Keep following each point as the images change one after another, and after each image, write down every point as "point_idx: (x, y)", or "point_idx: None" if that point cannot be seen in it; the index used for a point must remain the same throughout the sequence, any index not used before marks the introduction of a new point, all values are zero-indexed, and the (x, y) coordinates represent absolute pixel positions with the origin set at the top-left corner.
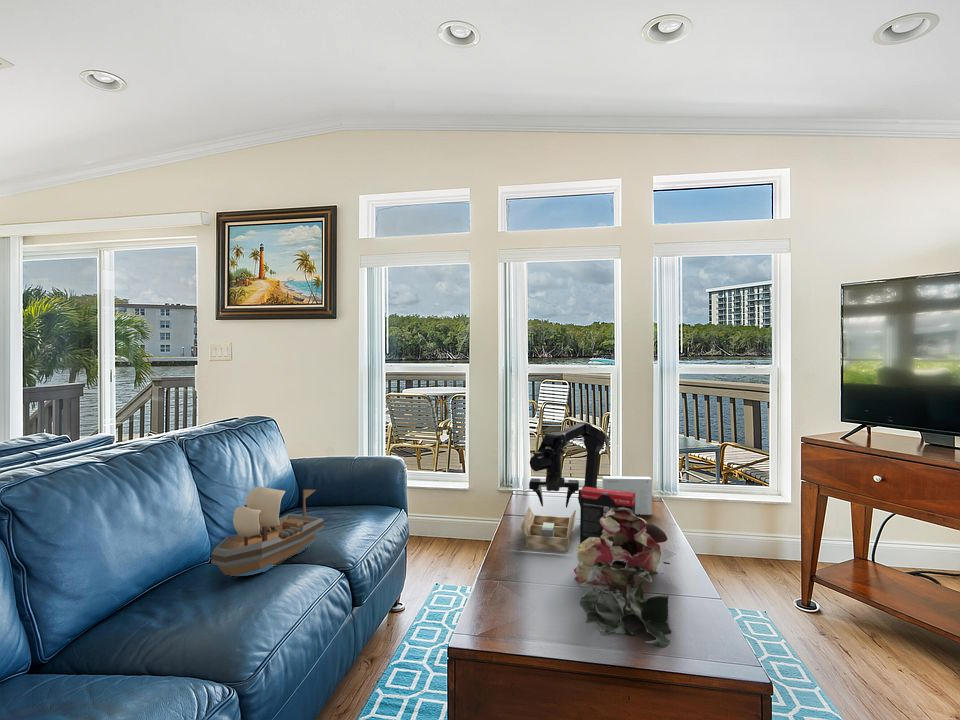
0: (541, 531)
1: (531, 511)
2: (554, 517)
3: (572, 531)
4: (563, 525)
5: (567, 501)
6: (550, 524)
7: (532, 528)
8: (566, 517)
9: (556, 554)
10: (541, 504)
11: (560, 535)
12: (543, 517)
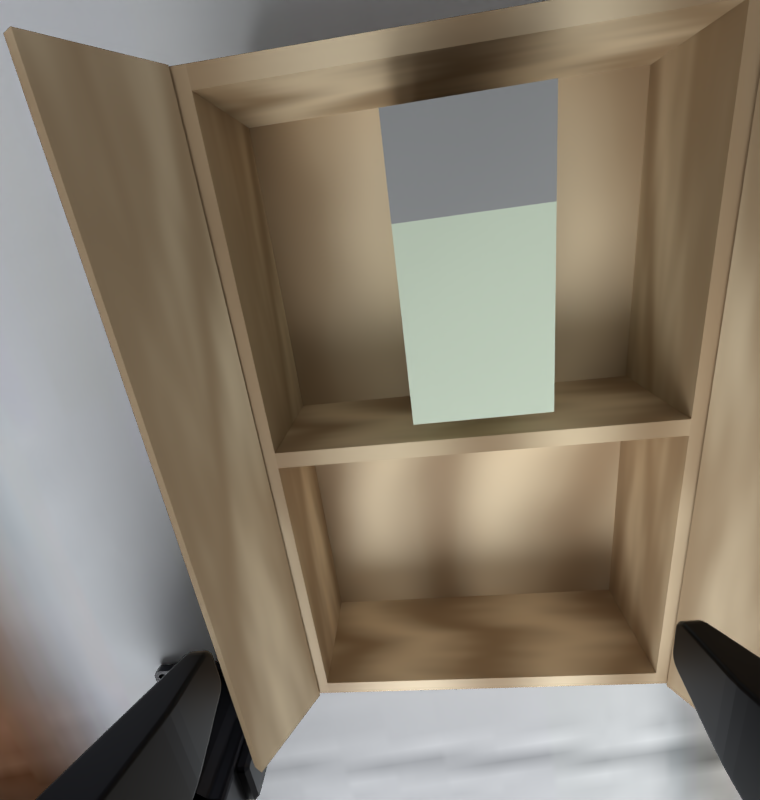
0: None
1: None
2: (460, 673)
3: (22, 32)
4: (382, 620)
5: (80, 781)
6: (452, 358)
7: (654, 404)
8: (352, 685)
9: (325, 14)
10: (740, 649)
11: (360, 412)
12: (562, 663)
